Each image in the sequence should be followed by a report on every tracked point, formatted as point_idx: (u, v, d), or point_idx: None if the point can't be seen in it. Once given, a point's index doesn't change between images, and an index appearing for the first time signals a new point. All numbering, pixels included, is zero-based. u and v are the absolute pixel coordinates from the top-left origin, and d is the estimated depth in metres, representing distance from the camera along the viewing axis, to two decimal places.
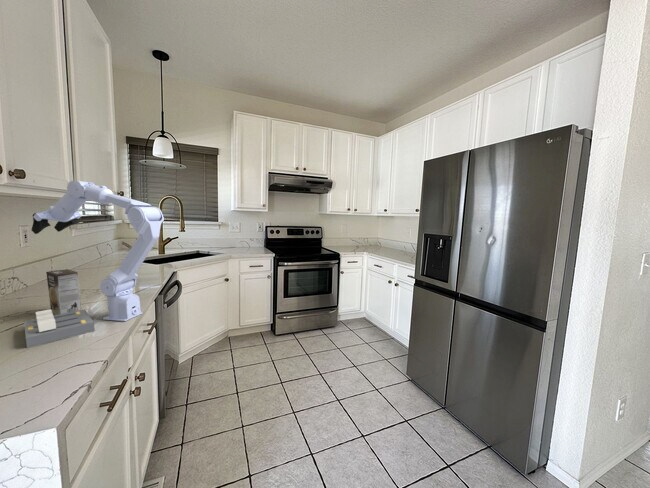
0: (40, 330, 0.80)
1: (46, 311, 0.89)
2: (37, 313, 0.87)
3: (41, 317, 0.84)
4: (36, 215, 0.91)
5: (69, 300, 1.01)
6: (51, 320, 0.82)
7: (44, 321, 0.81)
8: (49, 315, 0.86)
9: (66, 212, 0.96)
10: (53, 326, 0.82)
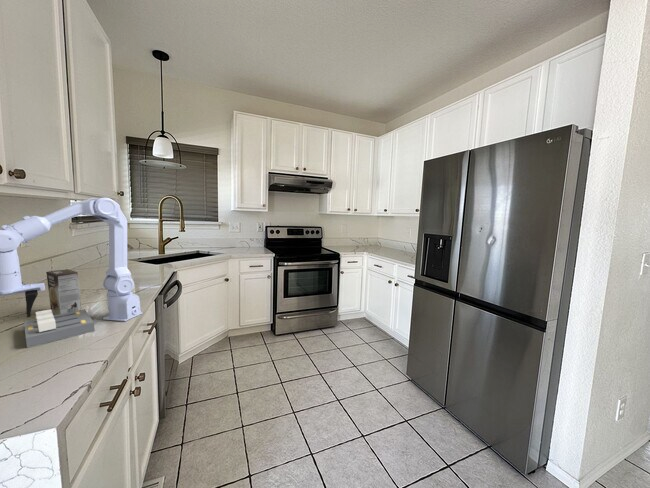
0: (40, 330, 0.80)
1: (46, 311, 0.89)
2: (37, 313, 0.87)
3: (41, 317, 0.84)
4: (44, 285, 0.80)
5: (69, 300, 1.01)
6: (51, 320, 0.82)
7: (44, 321, 0.81)
8: (49, 315, 0.86)
9: None
10: (53, 326, 0.82)
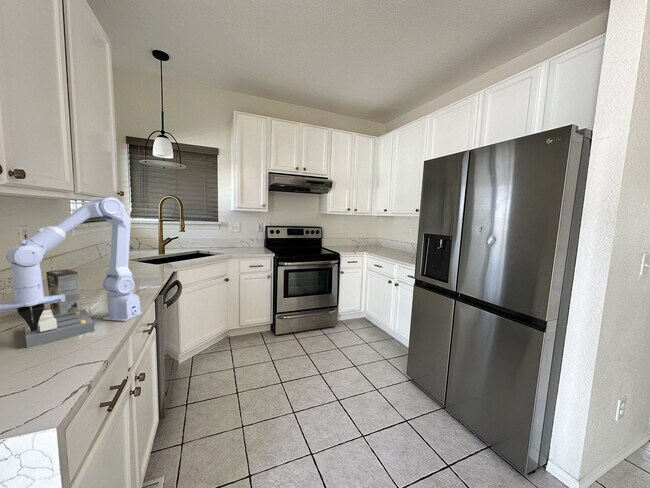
0: (41, 330, 0.80)
1: (46, 311, 0.89)
2: None
3: (41, 317, 0.84)
4: (64, 296, 0.84)
5: (69, 300, 1.01)
6: (52, 320, 0.82)
7: (45, 321, 0.82)
8: (49, 315, 0.86)
9: None
10: (54, 326, 0.82)
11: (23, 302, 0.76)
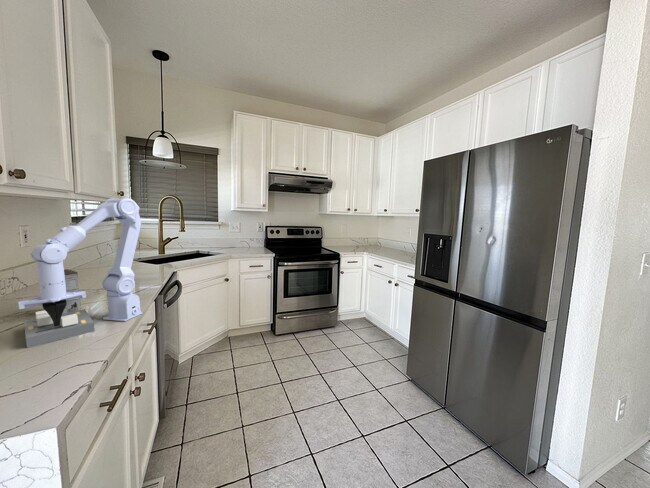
0: (63, 325, 0.84)
1: None
2: (37, 313, 0.87)
3: (41, 317, 0.84)
4: None
5: (69, 300, 1.01)
6: (73, 315, 0.86)
7: (67, 316, 0.85)
8: None
9: None
10: (75, 321, 0.86)
11: (48, 298, 0.80)
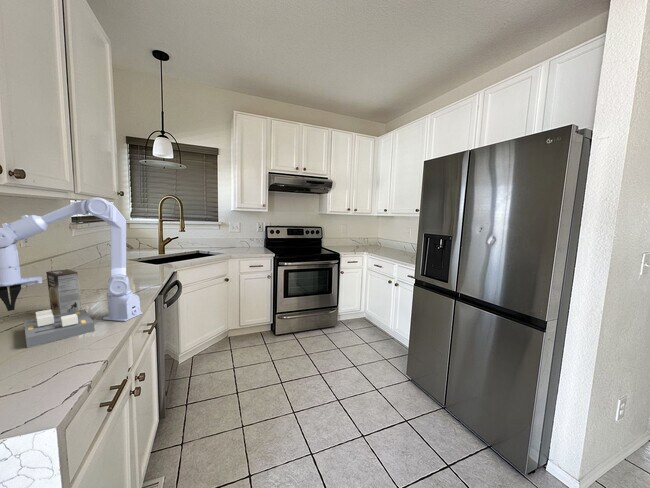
0: (63, 325, 0.84)
1: (46, 311, 0.89)
2: (37, 313, 0.87)
3: (41, 317, 0.84)
4: (41, 278, 0.87)
5: (69, 300, 1.01)
6: (73, 315, 0.86)
7: (67, 316, 0.85)
8: (49, 315, 0.86)
9: None
10: (75, 321, 0.86)
11: (0, 282, 0.79)
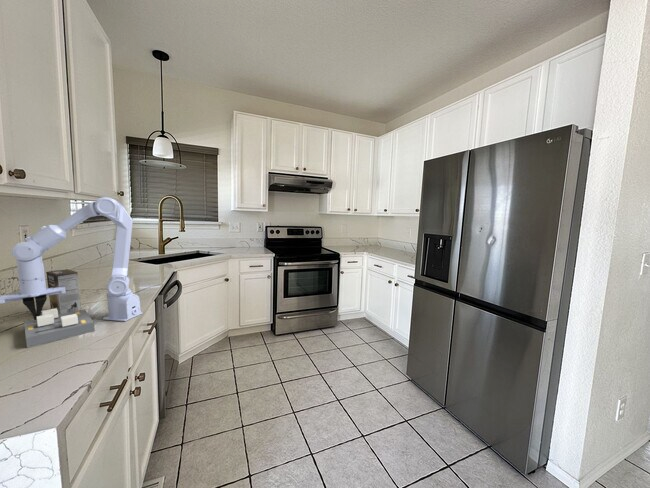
0: (63, 325, 0.84)
1: (52, 310, 0.90)
2: (43, 312, 0.88)
3: (41, 317, 0.84)
4: None
5: (69, 300, 1.01)
6: (73, 315, 0.86)
7: (67, 316, 0.85)
8: (49, 315, 0.86)
9: None
10: (75, 321, 0.86)
11: (27, 293, 0.84)
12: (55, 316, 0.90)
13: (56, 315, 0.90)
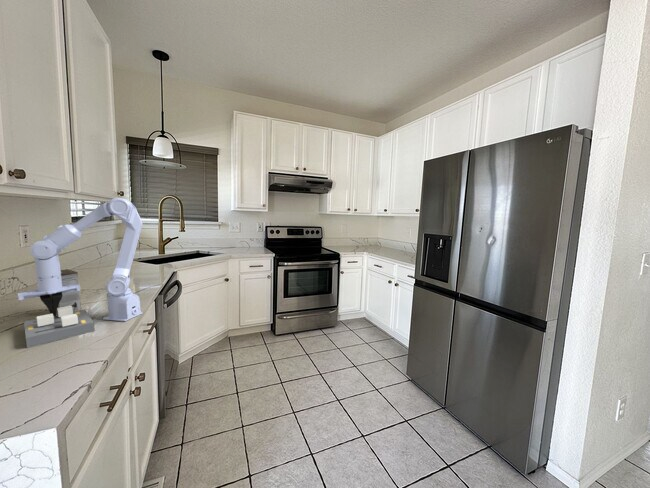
0: (63, 325, 0.84)
1: (67, 307, 0.93)
2: (59, 309, 0.91)
3: (41, 317, 0.84)
4: (79, 286, 0.95)
5: (69, 300, 1.01)
6: (73, 315, 0.86)
7: (67, 316, 0.85)
8: (49, 315, 0.86)
9: None
10: (75, 321, 0.86)
11: (45, 290, 0.87)
12: (70, 313, 0.93)
13: (71, 312, 0.93)
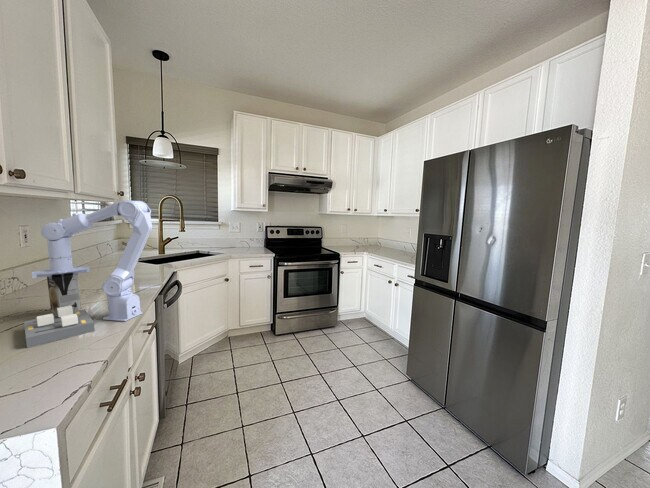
0: (63, 325, 0.84)
1: (67, 307, 0.93)
2: (59, 309, 0.91)
3: (41, 317, 0.84)
4: (89, 268, 0.99)
5: (69, 300, 1.01)
6: (73, 315, 0.86)
7: (67, 316, 0.85)
8: (49, 315, 0.86)
9: None
10: (75, 321, 0.86)
11: (56, 270, 0.91)
12: (70, 313, 0.93)
13: (71, 312, 0.93)
